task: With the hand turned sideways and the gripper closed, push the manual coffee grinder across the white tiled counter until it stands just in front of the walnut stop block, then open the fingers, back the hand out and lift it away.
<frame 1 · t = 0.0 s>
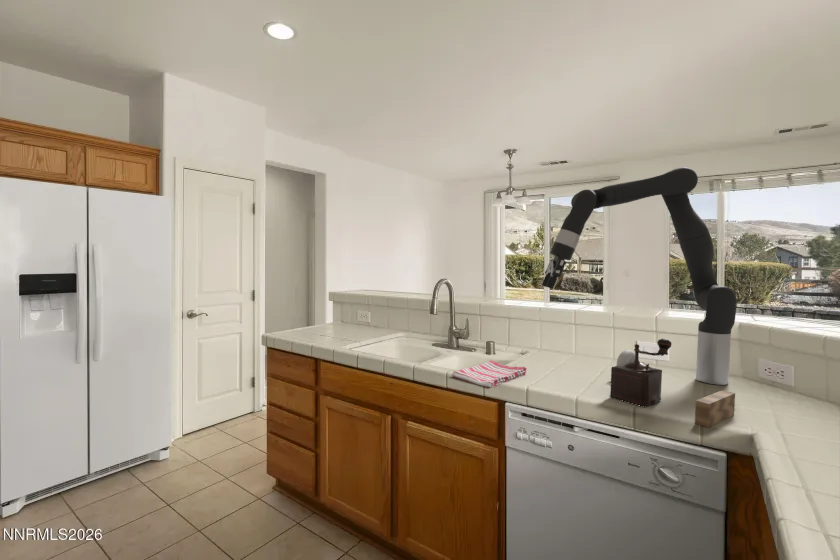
hand: (546, 287, 147), 31 cm above the worktop, tool tilted 20°, fingers open, 8 cm apart
manual coffee grinder: (640, 398, 125), on the worktop
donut: (626, 378, 146), on the worktop
stop block: (715, 419, 108), on the worktop
dish towel: (489, 377, 146), on the worktop
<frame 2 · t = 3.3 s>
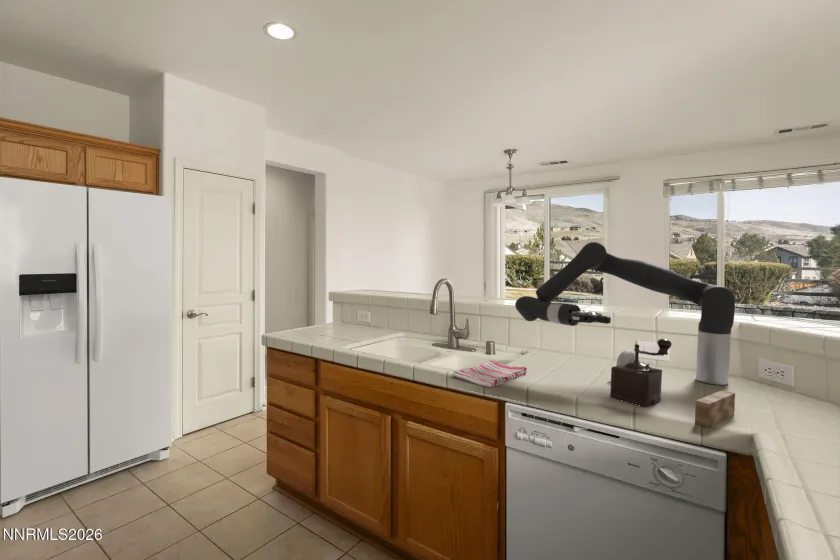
hand: (609, 320, 133), 22 cm above the worktop, tool horizontal, fingers closed
nothing on the worktop moved.
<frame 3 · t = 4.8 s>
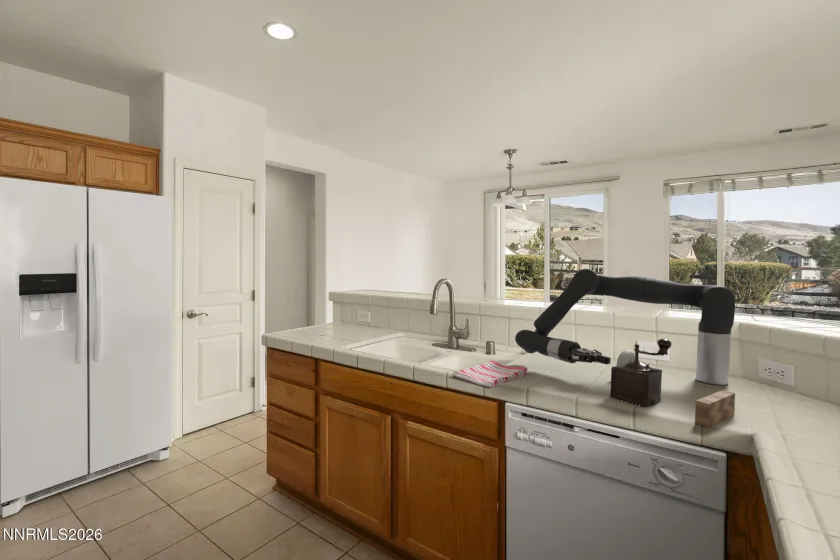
hand: (609, 361, 133), 9 cm above the worktop, tool horizontal, fingers closed
nothing on the worktop moved.
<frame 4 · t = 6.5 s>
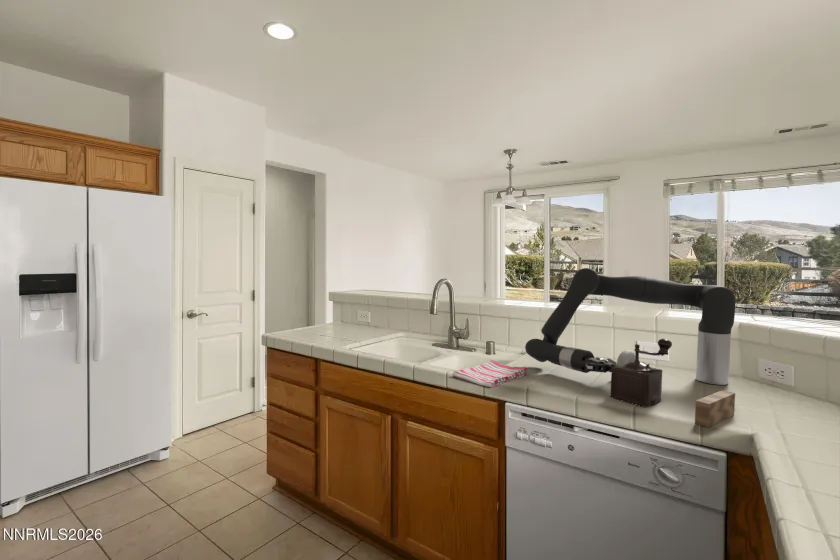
hand: (624, 370, 129), 7 cm above the worktop, tool horizontal, fingers closed
manual coffee grinder: (640, 398, 125), on the worktop, touching gripper
everything else where it was.
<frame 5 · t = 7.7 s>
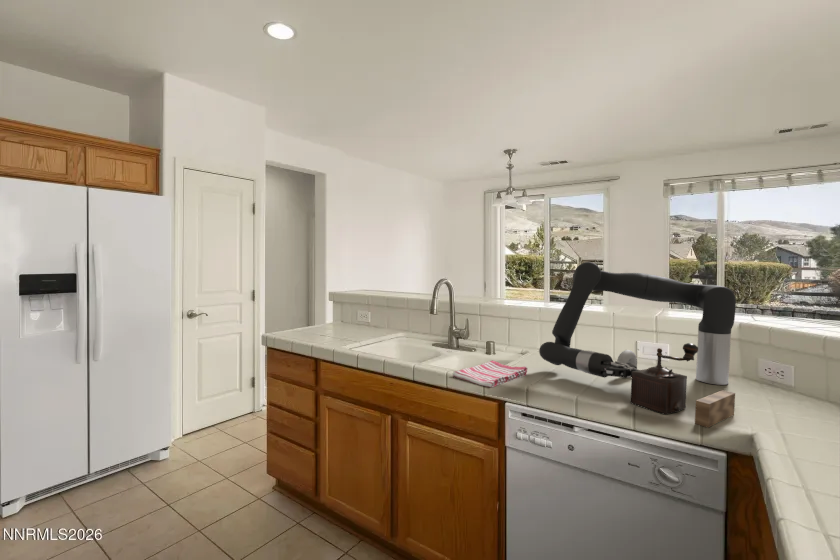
hand: (646, 375, 123), 7 cm above the worktop, tool horizontal, fingers closed
manual coffee grinder: (663, 405, 119), on the worktop, touching gripper
everything else where it was.
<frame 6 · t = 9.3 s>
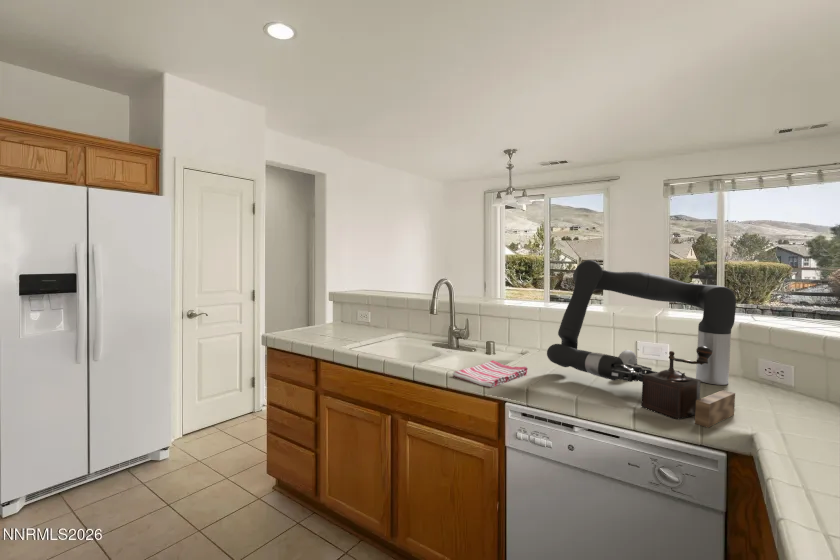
hand: (657, 378, 120), 7 cm above the worktop, tool horizontal, fingers open, 5 cm apart
manual coffee grinder: (676, 410, 115), on the worktop
everything else where it was.
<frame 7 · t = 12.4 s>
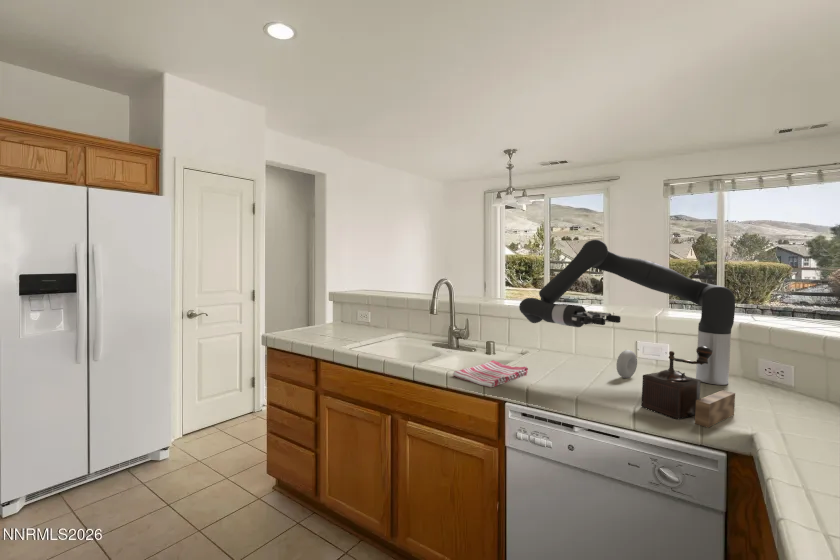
hand: (612, 320, 132), 22 cm above the worktop, tool horizontal, fingers open, 8 cm apart
nothing on the worktop moved.
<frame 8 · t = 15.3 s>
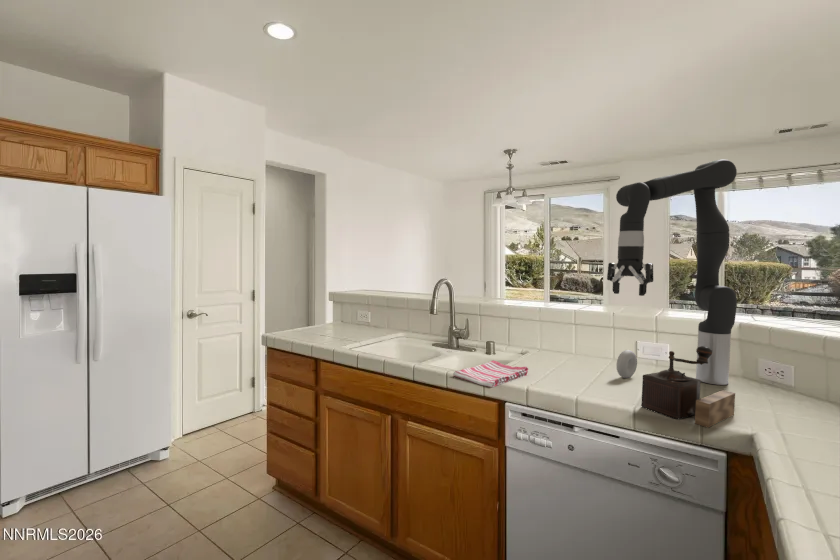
hand: (628, 294, 136), 30 cm above the worktop, tool pointing down, fingers open, 8 cm apart
nothing on the worktop moved.
at the end: manual coffee grinder inside the target area on the worktop beside the stop block (1.1 cm from its centre), on the worktop; manual coffee grinder tilted 0°; the gripper is holding nothing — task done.
